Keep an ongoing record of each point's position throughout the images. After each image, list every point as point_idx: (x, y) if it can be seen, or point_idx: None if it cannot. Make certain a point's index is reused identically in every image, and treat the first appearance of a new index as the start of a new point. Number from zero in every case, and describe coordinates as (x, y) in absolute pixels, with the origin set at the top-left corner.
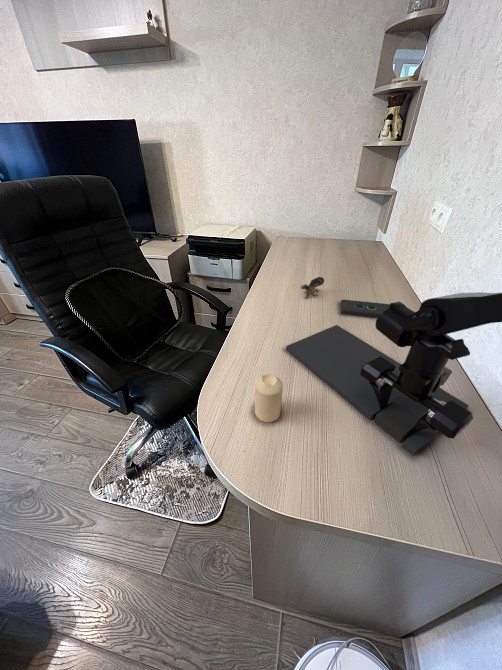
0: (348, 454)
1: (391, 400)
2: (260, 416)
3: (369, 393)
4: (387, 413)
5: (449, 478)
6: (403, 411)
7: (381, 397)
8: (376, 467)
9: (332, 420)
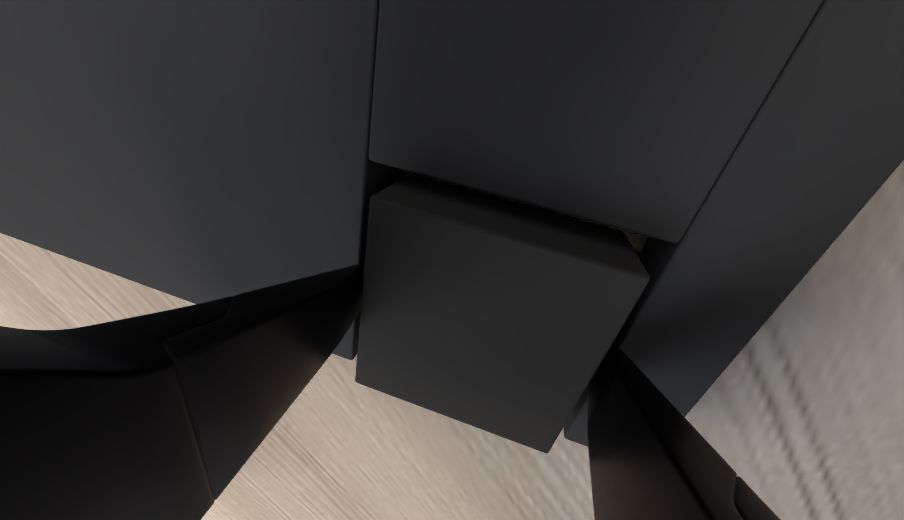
0: (409, 495)
1: (354, 141)
2: None
3: (224, 192)
4: (395, 349)
5: (859, 462)
6: (475, 259)
7: (227, 482)
8: (506, 507)
9: None
